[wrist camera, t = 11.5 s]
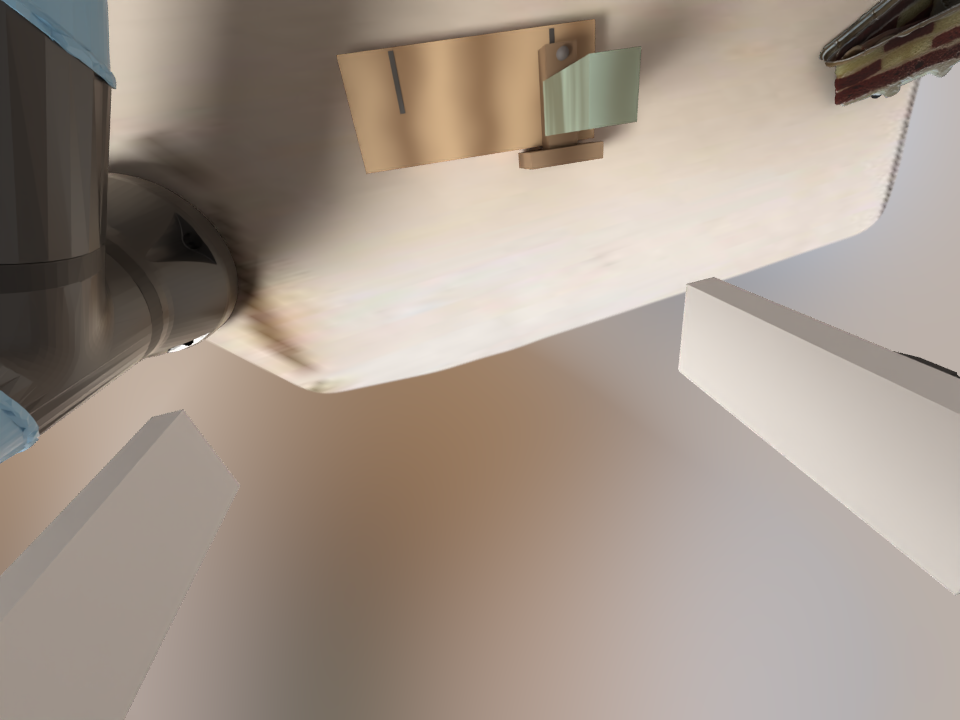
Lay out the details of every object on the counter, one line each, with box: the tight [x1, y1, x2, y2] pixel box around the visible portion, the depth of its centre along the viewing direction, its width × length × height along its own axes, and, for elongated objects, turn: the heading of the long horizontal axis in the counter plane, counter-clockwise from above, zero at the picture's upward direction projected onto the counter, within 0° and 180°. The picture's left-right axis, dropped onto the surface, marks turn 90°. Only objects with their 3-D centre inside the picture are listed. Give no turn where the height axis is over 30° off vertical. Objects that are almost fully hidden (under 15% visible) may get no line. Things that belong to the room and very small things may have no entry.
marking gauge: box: [518, 40, 641, 169], centre depth 27 cm, size 6×8×12 cm
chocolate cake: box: [819, 0, 960, 106], centre depth 33 cm, size 10×7×12 cm
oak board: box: [336, 19, 595, 174], centre depth 31 cm, size 20×8×2 cm, turn 98°
